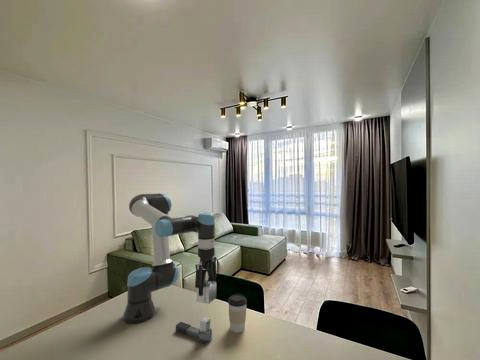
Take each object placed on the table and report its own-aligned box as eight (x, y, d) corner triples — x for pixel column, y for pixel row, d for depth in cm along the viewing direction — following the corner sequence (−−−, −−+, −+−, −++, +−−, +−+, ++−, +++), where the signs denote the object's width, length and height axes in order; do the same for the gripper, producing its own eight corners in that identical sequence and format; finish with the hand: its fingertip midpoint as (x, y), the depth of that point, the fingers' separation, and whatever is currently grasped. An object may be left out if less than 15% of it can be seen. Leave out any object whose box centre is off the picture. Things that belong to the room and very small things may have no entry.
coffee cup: (245, 335, 103) (244, 302, 103) (225, 333, 105) (225, 300, 105) (248, 323, 112) (248, 293, 112) (230, 321, 114) (230, 291, 114)
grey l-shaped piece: (214, 337, 102) (214, 318, 102) (206, 345, 96) (206, 325, 97) (182, 326, 110) (182, 308, 110) (173, 333, 105) (173, 314, 105)
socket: (196, 301, 101) (196, 283, 101) (204, 294, 107) (204, 278, 107) (208, 304, 98) (208, 285, 98) (216, 297, 104) (216, 280, 104)
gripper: (200, 254, 93) (200, 311, 92) (223, 243, 110) (224, 291, 110) (186, 251, 96) (186, 307, 95) (210, 241, 114) (211, 288, 113)
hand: (206, 298), depth 102 cm, fingers closed on socket, 6 cm apart
